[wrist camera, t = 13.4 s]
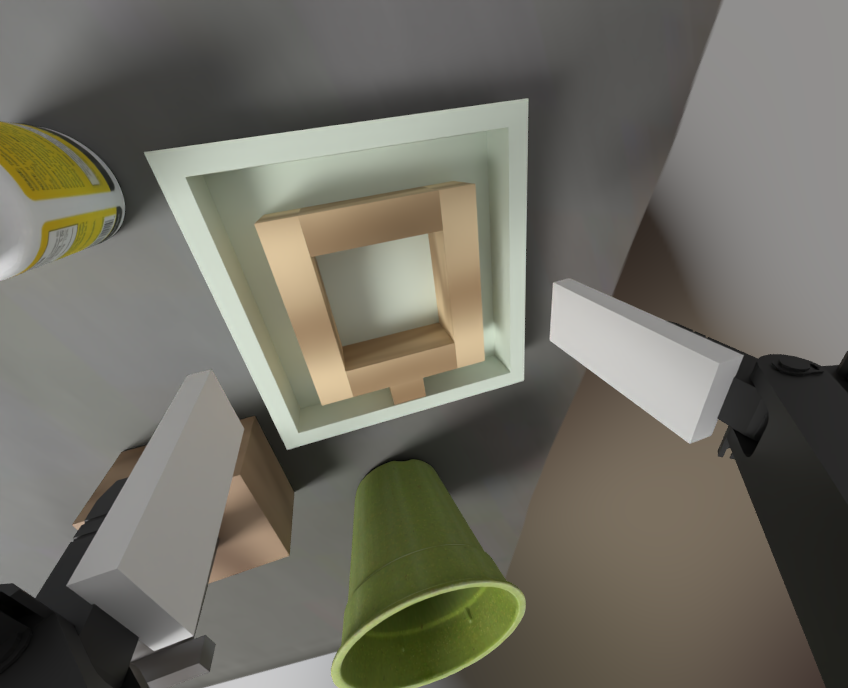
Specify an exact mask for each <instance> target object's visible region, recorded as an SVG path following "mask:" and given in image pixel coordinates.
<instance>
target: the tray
mask: <svg viewBox="0 0 848 688" xmlns="http://www.w3.org/2000/svg"><path fill="white" fill-rule="evenodd" d="M144 154H145V156H146V158H147V160H148V162H149V165H150V167H151V169H152V171H153V173H154V175H155V177H156V179H157V181H158V183H159V185H160V187H161V189H162V191H163V194H164V196H165V198H166V200H167V202H168V204H169V206H170V208H171V210H172V212H173V214H174V216H175V218H176V221H177V223H178V225H179V227H180V229H181V231H182V233H183V235H184V237H185V239H186V241H187V243H188V245H189V247H190V250H191V252H192V254H193V256H194V258H195V260H196V262H197V264H198V266H199V268H200V270H201V272H202V274H203V276H204V279H205V281H206V283H207V285H208V287H209V289H210V291H211V293H212V295H213V297H214V299H215V301H216V303H217V306H218V308H219V310H220V312H221V314H222V316H223V318H224V320H225V322H226V324H227V326H228V328H229V330H230V332H231V335H232V337H233V339H234V341H235V343H236V345H237V347H238V349H239V351H240V353H241V355H242V357H243V359H244V362H245V364H246V366H247V368H248V370H249V372H250V374H251V376H252V378H253V380H254V382H255V384H256V386H257V388H258V391H259V393H260V395H261V397H262V399H263V401H264V403H265V405H266V407H267V409H268V411H269V413H270V415H271V418H272V420H273V422H274V424H275V426H276V428H277V430H278V432H279V434H280V436H281V438H282V440H283V442H284V444H285V447H286V449H287V450H289V449H292V448H295V447H299V446H302V445H306V444H309V443H313V442H316V441H319V440H323V439H326V438H330V437H333V436H336V435H340V434H343V433H347V432H350V431H354V430H357V429H360V428H364V427H367V426H371V425H374V424H377V423H381V422H384V421H388V420H391V419H395V418H398V417H401V416H405V415H408V414H412V413H415V412H418V411H422V410H425V409H429V408H432V407H436V406H439V405H442V404H446V403H449V402H453V401H456V400H459V399H463V398H466V397H470V396H473V395H477V394H480V393H483V392H487V391H490V390H494V389H497V388H500V387H504V386H507V385H511V384H514V383H518V382H521V381H524V345H525V283H526V220H527V158H528V98H526V99H519V100H512V101H505V102H498V103H491V104H483V105H476V106H469V107H462V108H455V109H448V110H441V111H434V112H426V113H419V114H412V115H405V116H398V117H391V118H384V119H377V120H369V121H362V122H355V123H348V124H341V125H334V126H327V127H320V128H312V129H305V130H298V131H291V132H284V133H277V134H270V135H263V136H255V137H248V138H241V139H234V140H227V141H220V142H213V143H206V144H198V145H191V146H184V147H177V148H170V149H163V150H156V151H149V152H144ZM450 181H458V182H466V183H474V184H475V186H476V205H477V223H478V242H479V260H480V279H481V298H482V316H483V335H484V353H485V361H482V362H479V363H475V364H472V365H468V366H464V367H461V368H457V369H453V370H450V371H446V372H443V373H439V374H435V375H432V376H428V377H424V378H423V381H424V387H425V393H426V396H425V397H421V398H418V399H414V400H411V401H407V402H404V403H400V404H397V405H395V404H394V401H393V398H392V395H391V392H390V389H389V387H388V388H385V389H381V390H377V391H374V392H370V393H367V394H363V395H359V396H356V397H352V398H348V399H345V400H341V401H338V402H334V403H330V404H327V405H323V406H322V404H321V402H320V399H319V396H318V394H317V391H316V388H315V385H314V383H313V380H312V377H311V375H310V372H309V369H308V367H307V364H306V361H305V359H304V356H303V353H302V351H301V348H300V345H299V343H298V340H297V337H296V335H295V332H294V329H293V327H292V324H291V321H290V319H289V316H288V313H287V311H286V308H285V305H284V303H283V300H282V297H281V294H280V292H279V289H278V286H277V284H276V281H275V278H274V276H273V273H272V270H271V268H270V265H269V262H268V260H267V257H266V254H265V252H264V249H263V246H262V244H261V241H260V238H259V236H258V233H257V230H256V228H255V225H254V224H255V223H256V222H257V221H258V220H259V219H260V218H261V217H262V216H263V215H265V214H270V213H276V212H282V211H287V210H293V209H298V208H304V207H310V206H315V205H321V204H326V203H332V202H338V201H343V200H349V199H355V198H360V197H366V196H371V195H377V194H383V193H388V192H394V191H400V190H405V189H411V188H416V187H422V186H428V185H433V184H439V183H444V182H450ZM315 257H316V260H317V264H318V267H319V270H320V274H321V277H322V280H323V284H324V287H325V290H326V294H327V297H328V300H329V304H330V307H331V310H332V314H333V317H334V320H335V324H336V327H337V330H338V334H339V337H340V340H341V344H342V347H343V346H347V345H351V344H355V343H359V342H363V341H367V340H371V339H375V338H379V337H383V336H387V335H391V334H395V333H399V332H403V331H407V330H411V329H415V328H419V327H423V326H427V325H431V324H435V323H439V316H438V309H437V301H436V293H435V285H434V277H433V269H432V261H431V253H430V245H429V237H428V234H423V235H418V236H413V237H408V238H403V239H398V240H393V241H388V242H383V243H378V244H373V245H368V246H364V247H359V248H354V249H349V250H344V251H339V252H334V253H329V254H324V255H319V256H315Z"/></svg>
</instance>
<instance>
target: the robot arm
mask: <svg viewBox="0 0 848 688" xmlns="http://www.w3.org/2000/svg"><path fill="white" fill-rule="evenodd" d="M550 341H551V342H553V343H554V344H555V345H557V346H558V347H559V348H561V349H562V350H563V351H565V352H566V353H568V354H569V355H570V356H572V357H573V358H574V359H576V360H577V361H578V362H580V363H581V364H582V365H584V366H585V367H587V368H588V369H589V370H591V371H592V372H593V373H595V374H596V375H597V376H599V377H600V378H601V379H603V380H604V381H605V382H607V383H608V384H610V385H611V386H612V387H614V388H615V389H616V390H618V391H619V392H620V393H622V394H623V395H625V396H626V397H627V398H629V399H630V400H631V401H633V402H634V403H635V404H637V405H638V406H639V407H641V408H642V409H644V410H645V411H646V412H647V413H649V414H650V415H652V416H653V417H654V418H656V419H657V420H658V421H660V422H661V423H662V424H664V425H665V426H666V427H668V428H669V429H671V430H672V431H673V432H675V433H676V434H677V435H679V436H680V437H682V438H683V439H684V440H686V441H687V442H688V443H693V442H695V441H698V440H701V439H703V438H706V437H709V436H711V435H712V432H713V430H714V427H715V425H716V422H717V420H718V419H719V420H721V421H722V422H724V423H726V424H727V425H729V426H728V428H727V431H726V433H725V435H724V437H723V440H722V442H721V445H720V447H719V449H718V456H719V457H723V456H724V453H725V451H726V449H728V448H731V450H732V454H731V456H730V458H731V459H735V460H736V463H737V466H738V468H739V471H740V473H741V476H742V478H743V480H744V483H745V486H746V488H747V491H748V493H749V496H750V498H751V501H752V503H753V505H754V508H755V511H756V513H757V516H758V518H759V521H760V523H761V526H762V528H763V531H764V533H765V536H766V538H767V541H768V543H769V545H770V548H771V551H772V553H773V556H774V558H775V561H776V563H777V566H778V569H779V571H780V574H781V576H782V579H783V581H784V584H785V586H786V588H787V591H788V594H789V596H790V599H791V601H792V604H793V606H794V609H795V611H796V614H797V616H798V618H799V621H800V624H801V626H802V629H803V631H804V634H805V636H806V639H807V641H808V644H809V646H810V649H811V651H812V654H813V656H814V659H815V661H816V664H817V666H818V669H819V671H820V674H821V676H822V679H823V681H824V684H825V686H826V688H848V351H847V353H846V354H845V356H844V358H843V359H842V361H841V363H840V364H839V365H834V366H820V365H818V364H816V363H813V362H811V361H809V360H805V359H802V358H798V357H795V356H788V355H781V354H773V355H771V354H770V355H765V356H762V357H760V358H759V359H757V358H755V357H753V356H751V355H748V354H746V353H744V352H741V351H739V350H737V349H735V348H732V347H730V346H728V345H725V344H723V343H721V342H719V341H716V340H714V339H711V338H709V337H708V338H706V337H705V335H702V334H700V333H698V332H693V330H691V329H689V328H686V327H684V326H682V325H679V324H677V323H674V322H670V321H665V320H663V319H661V318H658V317H656V316H654V315H651V314H649V313H647V312H645V311H642V310H640V309H638V308H636V307H633V306H631V305H629V304H627V303H624V302H622V301H620V300H617V299H615V298H613V297H611V296H609V295H606V294H604V293H602V292H600V291H597V290H595V289H593V288H591V287H588V286H586V285H584V284H581V283H579V282H577V281H575V280H572V279H570V278H568V279H564V280H560V281H556V282H553V293H552V310H551V326H550ZM243 432H244V427H243V426H242V424H241V422H240V420H239V418H238V416H237V415H236V413H235V411H234V409H233V407H232V406H231V404H230V402H229V400H228V398H227V396H226V395H225V393H224V391H223V389H222V387H221V386H220V384H219V382H218V380H217V378H216V376H215V375H214V373H213V371H212V369H211V370H207V371H203V372H199V373H195V374H191V375H187V376H186V378H185V380H184V382H183V383H182V385H181V387H180V389H179V390H178V392H177V394H176V396H175V397H174V399H173V401H172V403H171V404H170V406H169V408H168V410H167V411H166V413H165V415H164V416H163V418H162V420H161V422H160V423H159V425H158V427H157V429H156V430H155V432H154V434H153V436H152V437H151V439H150V441H149V443H148V444H147V446H146V448H145V450H144V451H143V453H142V455H141V456H140V458H139V460H138V462H137V463H136V465H135V467H134V469H133V470H132V472H131V474H130V476H129V477H127V478H124V479H120V480H117V481H116V482H115V483H114V484H113V485H112V486H111V487H110V488H109V489H108V490H107V491H106V492H105V493H104V494H103V495H102V496H101V497H100V498H99V499H98V500H97V501H96V503H95V504H94V506H93V507H92V509H91V511H90V512H89V514H88V515H87V517H86V519H85V520H84V521H85V524H83V525H81V526H80V528H79V530H78V531H77V533H76V534H75V536H74V538H73V539H74V541H73V542H71V543H70V544H69V546H68V547H67V549H66V550H65V552H64V553H63V555H62V557H61V558H60V560H59V561H58V563H57V565H56V566H55V568H54V569H53V571H52V573H51V574H50V576H49V577H48V579H47V580H46V582H45V584H44V585H43V587H42V588H41V590H40V592H39V593H38V595H37V596H36V598H34V597H32V596H31V595H29V594H28V593H26V592H25V591H23V590H22V589H20V588H19V587H17V586H16V585H14V584H13V583H11V584H0V688H150V687H149V685H148V683H147V682H146V680H145V678H144V676H143V675H142V673H141V671H140V669H139V668H138V667H136V666H135V665H134V664H132V663H131V659H132V656H133V654H134V651H135V648H136V645H137V643H138V640H140V641H141V642H142V643H144V644H145V645H146V646H148V647H149V648H151V649H152V650H153V651H156V650H159V649H161V648H164V647H166V646H169V645H172V644H174V643H177V642H179V641H182V640H184V639H187V638H190V637H192V636H194V632H195V628H196V624H197V620H198V616H199V612H200V608H201V604H202V600H203V596H204V592H205V587H206V583H207V579H208V575H209V571H210V567H211V563H212V559H213V555H214V551H215V547H216V542H217V538H218V534H219V530H220V526H221V522H222V518H223V514H224V510H225V506H226V502H227V497H228V493H229V489H230V485H231V481H232V477H233V473H234V469H235V465H236V461H237V457H238V452H239V448H240V444H241V440H242V436H243Z"/></svg>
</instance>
